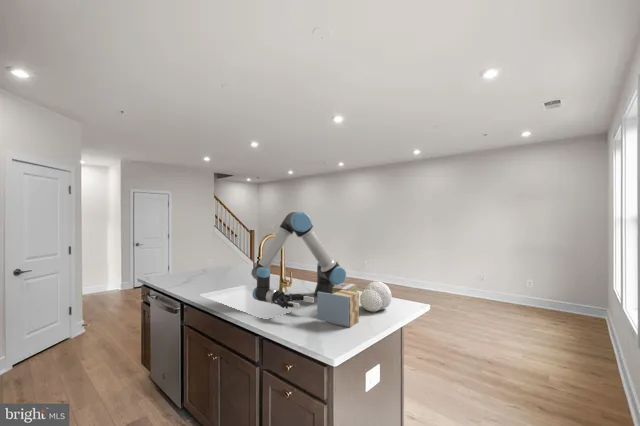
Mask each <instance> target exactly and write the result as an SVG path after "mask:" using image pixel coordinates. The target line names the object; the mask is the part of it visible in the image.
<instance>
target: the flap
mask: <svg viewBox="0 0 640 426" xmlns="http://www.w3.org/2000/svg"><path fill="white" fill-rule="evenodd" d="M316 299H317V301H316V302H317V303H316V305H317V306H316V310H317V311H316V313H317V314H316V319H317V320H318V321H319V320H320V321H325V322H329V323H332V322H333V323H337V324H341V325H346V326H349V297H347V296H341V295H335V294H330V293H324V292H317V296H316ZM341 325H340V326H341Z"/></svg>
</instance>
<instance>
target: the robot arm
mask: <svg viewBox="0 0 640 426" xmlns="http://www.w3.org/2000/svg"><path fill="white" fill-rule="evenodd" d="M293 234H295V235H296V236H297V238H299V239H300V238H301V239H302V241H303V242H304V244H305V245H306V247H307V248H308V249H309V251H310V252H311V254H312V255H313V257H314V258H315V260H316V261H317V265H316V270H317V271H316V274H317V275H316V277H317V278H316V286H315V288H314V296H316V297H317V292H324V293H330V294H332V287H334V286H336V285H338V284H341V283H345V282H344V281H345V280H346V278H347V271H346V270H345V268H344V267H342V266H340V264H339V263H338V261H337V260H336V259H333V258H332V256H331V255H330V253H329V252H328V250H327V249H326V248H325V246H324V245H323V243H322V242H321V240H320V239H319V237H318V236H317V233H315V231H314V225H313V224H312V219H311V217H310V215H308V214H307V213H306V212H304V211H297V212H295V211H292V212H290V213H288V214H287V215H286V216H285V217H284V218H283V220H282V222H281V224H280V225H279V226H278V231H277V233H276V234H275V236H274V238H273V240H272V241H271V243H269V246H268V247H267V249H266V250H265V252H264V253H263V255H262V257H261V258H260V260H259V261H258V262H257V264H256V265H255V266H254V267H253V268H252V269H251V275H252V278H253V279H254V280H256V287H254V288H253V290H252V291H253V292H252V297H253V299H254V300H256V301H259V302H265V303H269V304H271V305H277V306H279V307H281V308H282V309H284V308H285V309H287V310H288V308H290V309H295V310H300V303H299V302H298V301H303V302H306V303H312V304H314V303H315V298H314V297H313V296H307V294H305V293H304V294H301V293H299V294H296V293H289V294H285V292H284V291H282V290H277V289H271V288H270V287H271V285H270V283H271V282H270V281H271V271H270V267H271V266H272V264H273V263H274V261H275V260H276V258H277V256H278V255H279V253H280V252H281V250H282V248H283V247H284V245H285V243H286V241H287V240H288V239H289V237H290V236H293ZM294 301H297V302H294Z"/></svg>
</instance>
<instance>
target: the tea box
mask: <svg viewBox="0 0 640 426" xmlns="http://www.w3.org/2000/svg"><path fill="white" fill-rule="evenodd" d="M340 290H346V291H352V292H358V285H357V284H354V283H348V282H347V283H346V282H343V283H341V284H338V285H335V286H334V287H332V294H333V293H336V292H338V291H340Z"/></svg>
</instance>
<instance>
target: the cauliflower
mask: <svg viewBox="0 0 640 426" xmlns="http://www.w3.org/2000/svg"><path fill="white" fill-rule="evenodd" d="M392 297H393V296H392V292H391V289H390V288H389V286H388V285H387V284H385V283H383V282H381V281H372V282H370V283H369V284H368V285H367V286H366V287H365V289H363V291H362V292H361V294H360V295H359V304H360V305H361V307H362V308H363V309H364V310H366V311H368V312H373V313H374V312H377V311H379V310H380V311H381V310H384V309H386V308H388V307H389V306H390V304H391V302H392Z"/></svg>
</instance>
